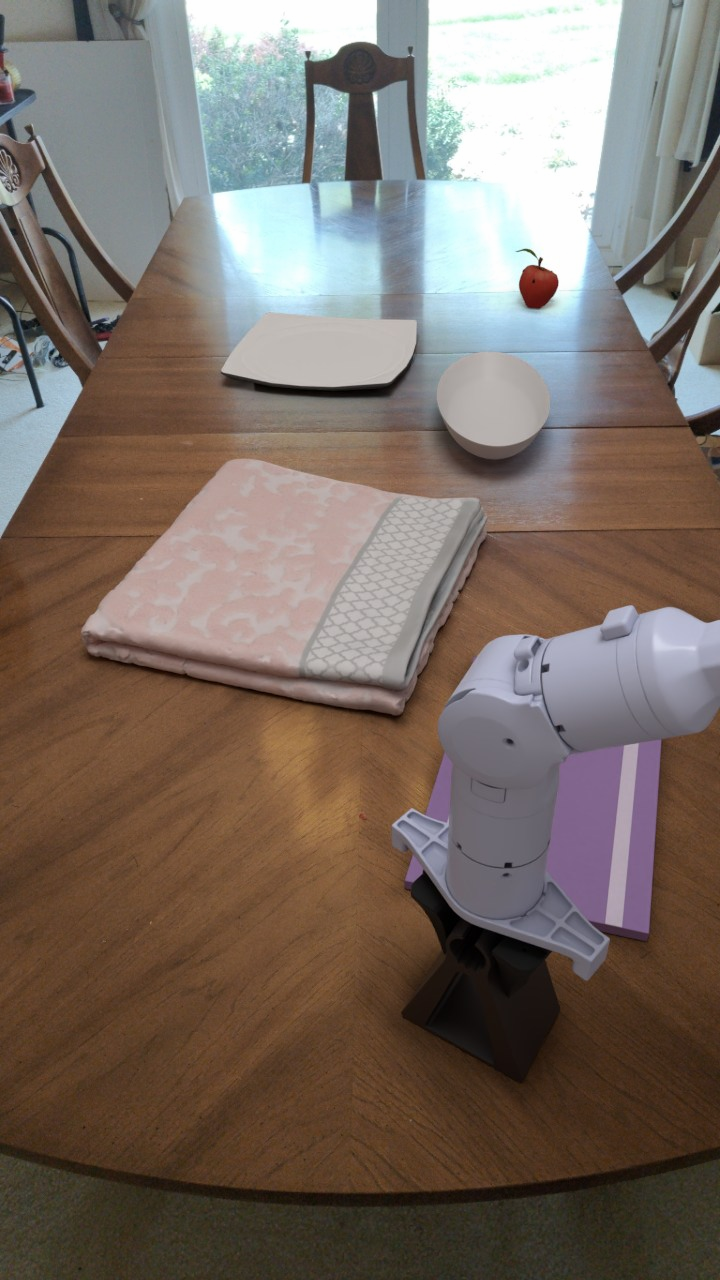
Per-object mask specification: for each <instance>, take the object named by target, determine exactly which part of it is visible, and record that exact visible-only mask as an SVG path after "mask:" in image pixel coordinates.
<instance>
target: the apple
mask: <svg viewBox="0 0 720 1280" xmlns="http://www.w3.org/2000/svg"><path fill="white" fill-rule="evenodd" d="M515 252H516V253H519V252H527V253H529V254H530V255H532V256H533V257H535V259H537V261H538V262H537V264H538V265H536V264H530V265H527V266H526V267H524V268H523V269H522V271H521V272H522V273H521V275H520V277H519V281H518V289H519V293H520V296H521V299H522V301H523V302H524V304H525V306H526V307H527V308H529V309H535V310H538V309H542V308H543V307H545V306H546V305H547V304H548V303H549V302H551V300H552V298H554V296H555V294H556V293H557V291H558V288H559V277H558V275H557V274H556V273H555V272H554V271H553V270H550V269H548V268H545V267H543V266H542V262H543V261H544V258H543V257H542V256H540V257H539V258H538V257H537V255H536V253H535V252H534V251H533V250H532V249H530V248H521V249H519V250H515Z"/></svg>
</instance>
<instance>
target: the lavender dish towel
mask: <svg viewBox="0 0 720 1280" xmlns="http://www.w3.org/2000/svg"><path fill="white" fill-rule="evenodd" d="M476 658H477V656H476V655H475V656H473V659H472V662H471V665H472V664H473V662H474V661H475V659H476ZM662 740H663V739H659V740H654V741H648V742H642V743H636V744H631V745H625V746H619V747H614V748H608V749H602V750H596V751H591V752H585V753H579V754H573V755H569V756H568V757H567V759H566V761H565V762H563V763H560V764H559V774H560V780H559V787H558V794H557V800H556V807H555V813H554V820H553V827H552V833H551V841H550V847H549V854H548V860H547V867H546V871H547V872H548V873H549V874H550V876H551V877H552V878H553V879H554V881H555V882H556V883H557V884H558V885H559V887H560V888H561V889H562V890H563V891H564V893H565V894H566V895H567V896H568V897H569V899H570V900H571V901H572V902H573V903H574V905H575V906H576V907H577V908H578V909H579V911H580V912H581V913H582V914H583V915H584V917H585V918H586V919H587V920H588V921H589V922H590V923H591V924H592V925H593V926H594V927H595V928H596V929H598V930H599V931H600V932H601V933H605V934H609V935H610V934H611V935H615V936H620V937H623V938H629V939H633V940H638V941H642V942H648V939H649V935H650V925H651V908H652V895H653V893H652V892H653V881H654V880H653V877H654V863H655V848H656V847H655V845H656V834H657V833H656V832H657V817H658V816H657V815H658V801H659V800H658V799H659V787H660V786H659V785H660V783H659V782H660V772H661V771H660V770H661V755H662V753H661V752H662ZM452 764H453V762H452V761H451V760H450V759H449V758H448V756H447V755H446V753H445V752H443V756H442V759H441V761H440V766H439V768H438V772H437V775H436V778H435V782H434V784H433V787H432V791H431V795H430V798H429V801H428V804H427V807H426V809H425V813H424V815H425V816H428V817H430V818H433V819H436V820H438V821H442V822H445V823H448V824H449V810H450V792H451V772H452ZM423 870H424V869H423V867H422V866H421V865H420V863H419V862H418V860H417V859H416V857H415V856H414V855H413V854H412V855H411V859H410V863H409V866H408V869H407V872H406V875H405V879H404V889H406V890H410V891H411V886H412V884H413V882H414V881H415V880H416V879H417V878H418V877H419V876H421V875H422V874H423Z"/></svg>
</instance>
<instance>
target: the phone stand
mask: <svg viewBox="0 0 720 1280" xmlns="http://www.w3.org/2000/svg"><path fill="white" fill-rule="evenodd" d="M505 937H506V935H503V934H500V933H497V932H494V931H491V930H488V929H485V928H482V927H479V926H476V925H474V924H471V923H469V922H468V921H466V920H464V919H463V918H460V920H459V921H458V923H457V924H456V926H455V927H454V929H453V930H452V932H451V933H450V935H449V936H448V938H447V939H446V943H445V944H446V954H445V955H444V953H443V950H442V949H441V952H439V955H438V956H437V958H436V959H435V960H434V962H433V963H432V965H431V967H430V968H429V970H428V972H427V973H426V974H425V976H424V978H423V979H422V980H421V983H419V985H418V987H417V988H416V990H415V991H414V993H413V994H412V996H411V997H410V999H409V1000H408V1001H407V1003H406V1004H405V1006H404V1008H403V1009H402V1011H401V1013H400V1014H401V1015H402V1017H403V1018H404V1019H405V1020H407V1021H409V1022H411V1023H413V1024H414V1025H417V1026H418V1027H420V1028H421V1029H423V1030H425V1031H426V1032H429V1033H430V1034H432V1035H434V1036H436V1037H438V1038H439V1039H441V1040H442V1041H445V1042H446V1043H448V1044H449V1045H451V1046H453V1047H455V1048H459V1049H461V1052H464V1053H465V1054H467V1055H469V1056H471V1057H473V1058H474V1059H476V1060H478V1061H479V1062H481V1063H483V1064H485V1065H487V1066H488V1067H491V1068H492V1069H494V1070H496V1071H498V1072H499V1073H501V1074H503V1075H504V1076H506V1077H508V1078H510V1079H511V1080H513V1081H515V1082H517V1083H523V1081H524V1079H525V1077H526V1076H527V1073H528V1072H529V1070H530V1068H531V1066H532V1065H533V1062H534V1060H535V1059H536V1057H537V1054H538V1053H539V1051H540V1049H541V1048H542V1045H543V1043H544V1041H545V1040H546V1037H547V1035H548V1034H549V1031H550V1030H551V1028H552V1026H553V1024H554V1022H555V1020H556V1018H557V1017H558V1014H559V1013H560V1011H561V1006H560V1003H559V1000H558V997H557V993H556V990H555V987H554V984H553V980H552V977H551V974H550V971H549V970H550V969H549V967H548V964H547V961H546V959H545V960H544V961H543V963H542V964H541V965H540V966H539V967H538V968H537V969H536V970H535V971H534V972H533V973H532V974H531V975H530V977H529V979H528V982H527V984H525V985H524V986H523V987H522V988H520V989H519V990H518V991H517V992H516V993H515V994H513V995H512V996H511V997H510V998H508V997H507V995H506V993H505V991H504V989H503V986H502V984H501V981H500V972H499V967H498V963H497V961H496V959H495V958H494V956H492V951H493V949H494V948H495V947H496V946H497V945H498V944H499V943H500V942H501V941H502V940H503V939H504V938H505Z"/></svg>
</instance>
